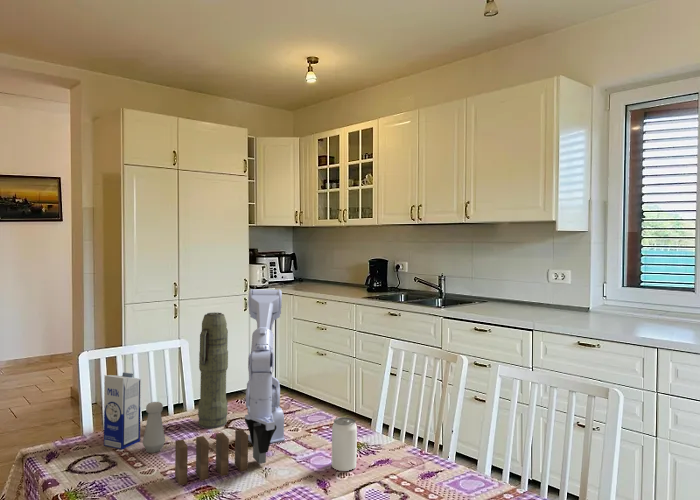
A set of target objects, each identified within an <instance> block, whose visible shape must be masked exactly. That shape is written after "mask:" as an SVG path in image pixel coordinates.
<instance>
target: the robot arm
mask: <svg viewBox="0 0 700 500" xmlns="http://www.w3.org/2000/svg"><path fill="white" fill-rule="evenodd" d="M282 291H283V290H281V289H280V288H278V289H255V288H254V289H253V288H250V289H249V290H248V296H247V297H248V301H247V305H248V313H249V315H250V318H251V319H253V320H255V321H256V329H254V331H253V332H252V335H251V336H252V337H251V347H250V349H251V350H250V352H249V354H248V360H247V361H248V362H247V369H248V381H247V383H246V388H245V389H246V390H245V407H246V409H247V414H245V415H244V422H245V424H246V426H247V428H248V432H249V434H247V435H248V442H249V443H251V446H252V447H253V432H254V430H255V432H256V435H257V440H258V449H259V452H260V454H261V453H266V454H267V453H268V452H269V448H270V446H271V445H270V444H273V443H274V444H275V443H277V442H283V441H285V440H286V438H285V415H284V410H283V409H282V407H281V406H280V405H281V404H280V403H281V387H280V385H281V384H280V380H279V379H278V378H276V376H274V375H273V374H274V370H275V352H274V333H273V325H274V323H275V320H277V319H280V318H281V314H282V308H283V307H282V304H283V303H282V301H283V300H282V298H283V295H282V294H283V292H282ZM258 422H259V423H261V425H260V426H254V423H258Z"/></svg>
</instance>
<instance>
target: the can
mask: <svg viewBox="0 0 700 500" xmlns="http://www.w3.org/2000/svg"><path fill="white" fill-rule="evenodd" d="M357 442H358V427H357V424H356V420H355V419H354V418H352V417H346V416H342V417H337V418H335V419H334V420H333V424H332V427H331V467H332V469H333V468H334V469H333V470H335V469H336V470H335V471H337V470H339V471H338V472H341V471H348V472H350V471H349V470H352V469H353V470H355V468H356V467H357V458H358V457H357V454H358V453H357V452H358V451H357V449H358V446H357V444H358V443H357ZM353 470H352V471H353Z"/></svg>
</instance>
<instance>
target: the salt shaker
mask: <svg viewBox="0 0 700 500" xmlns="http://www.w3.org/2000/svg"><path fill="white" fill-rule="evenodd" d="M163 409H164V406H163V403H162V402H160V401H152V402H149V403H147V404H146V408H145V411H146V413H147V419H146V424H145V429H144V430H145V431H144V433H143V434H144V435H143V439H142V446H143V448H144V449H145V451H146V453H149V454H150V453H151V454H154V453H158V452H161V451H162V449H163V447H164V445H165V443H166V438H165V437H166V436H165V432H164V424H163V420H162V419H163V418H162V414H161V413H162V411H163Z"/></svg>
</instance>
